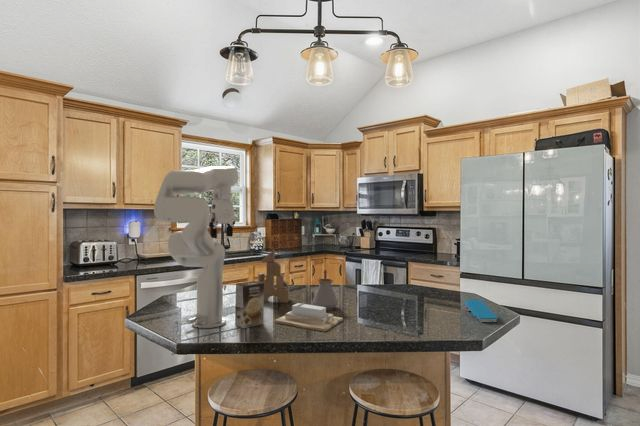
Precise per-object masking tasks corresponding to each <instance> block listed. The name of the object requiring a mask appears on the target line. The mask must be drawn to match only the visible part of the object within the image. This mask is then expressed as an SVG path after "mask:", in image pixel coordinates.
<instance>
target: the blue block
mask: <svg viewBox="0 0 640 426" xmlns="http://www.w3.org/2000/svg"><path fill="white" fill-rule="evenodd" d="M464 305H465V310H466V309H469V310H470V311H471V312H470V313H471V314H472V315H473V316H474V317H475V316H476V317H478V318H480V319H498V320H499V317H498V316H497V315H496V314H495V313H494V312H493V311H492V310H491V309H490V308H489V306H487V305H486V304H485V303H484V301H483V300H482V299H465V304H464ZM476 317H475V318H476Z"/></svg>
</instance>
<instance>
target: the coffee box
mask: <svg viewBox="0 0 640 426" xmlns="http://www.w3.org/2000/svg"><path fill="white" fill-rule="evenodd" d="M264 303H265V302H264V283H262V282H258V280H254V281H253V280H252V281H246V282H245V281H244V282H238V283H235V309H234V310H235V312H234V316H235V318H234V321H235V322H234V324H235V326H237V327H239V328H241V329H247V328H252V327H257V326H261V325H263V324H264V308H265V307H264V305H265V304H264Z"/></svg>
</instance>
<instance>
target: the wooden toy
mask: <svg viewBox="0 0 640 426" xmlns="http://www.w3.org/2000/svg"><path fill="white" fill-rule="evenodd" d="M275 251H276V250H275V249H273V250H271V251H270V252H269V253H268V255H266V256H265V257H264V258H263V259H262V260H261V261H260V262H261V263H266V273H262V272H261V273H258V274H257V282H262V283H264V303H267V302H268V301H269V299H270V298H271V297H277V299H279V302H280V303H285V304H286V303H289V300H290V284H289V283H288V282H287V281H286V280H285V279H284V278H285V277H284V274H281V273H282V271H281V270H282V266H281V264H280V263H279V262H278V261H275V260H276V259H275V256H276V255H275V254H276V253H275ZM265 276H266V277H265ZM275 278H276V279H275Z"/></svg>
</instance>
